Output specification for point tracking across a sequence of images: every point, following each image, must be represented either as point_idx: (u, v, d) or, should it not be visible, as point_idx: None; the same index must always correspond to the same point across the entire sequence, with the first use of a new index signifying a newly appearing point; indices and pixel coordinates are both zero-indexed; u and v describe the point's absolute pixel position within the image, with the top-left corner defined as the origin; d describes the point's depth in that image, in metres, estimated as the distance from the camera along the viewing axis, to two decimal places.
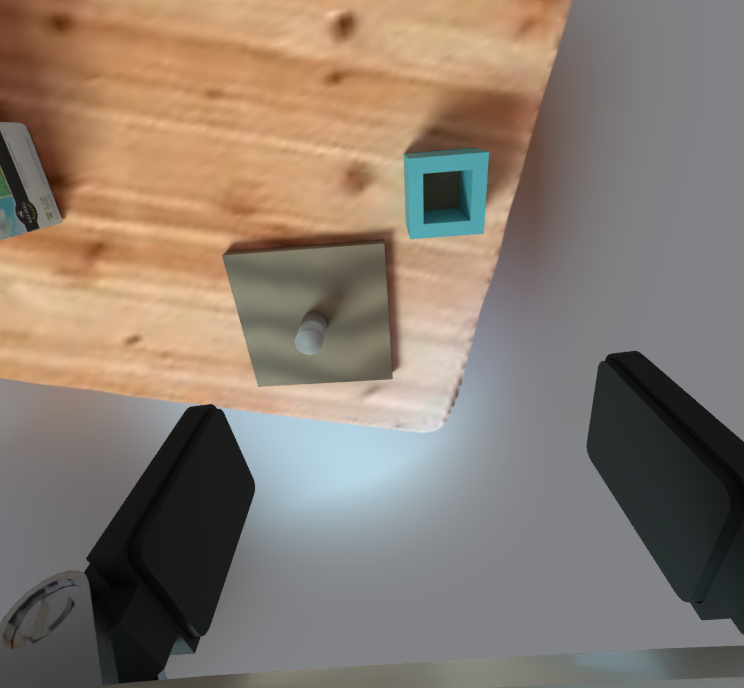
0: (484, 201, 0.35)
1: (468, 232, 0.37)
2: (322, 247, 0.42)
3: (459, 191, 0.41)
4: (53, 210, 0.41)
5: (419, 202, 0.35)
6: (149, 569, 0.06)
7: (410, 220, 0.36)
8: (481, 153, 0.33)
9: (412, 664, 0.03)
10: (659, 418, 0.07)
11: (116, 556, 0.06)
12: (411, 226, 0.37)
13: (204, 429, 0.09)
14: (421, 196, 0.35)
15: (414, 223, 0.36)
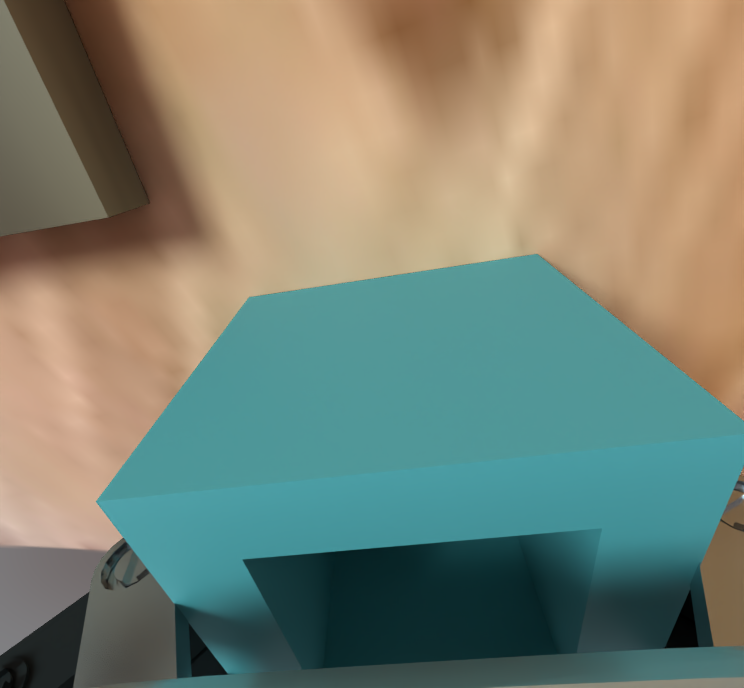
0: None
1: None
2: None
3: None
4: None
5: (389, 527, 0.05)
6: None
7: (244, 487, 0.04)
8: None
9: (412, 664, 0.03)
10: None
11: None
12: (198, 501, 0.04)
13: None
14: (437, 531, 0.05)
15: (228, 515, 0.04)
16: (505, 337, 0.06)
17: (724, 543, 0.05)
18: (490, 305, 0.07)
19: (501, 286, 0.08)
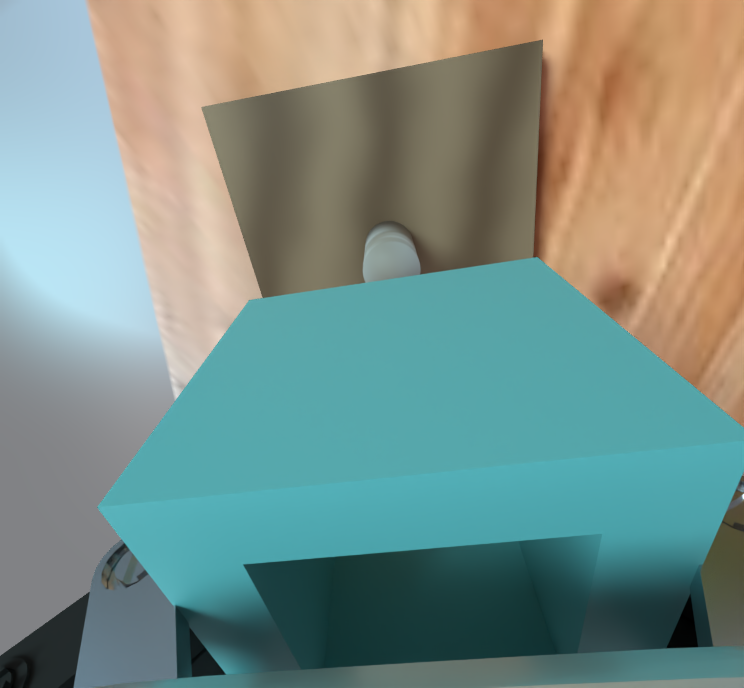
0: None
1: None
2: None
3: None
4: None
5: (390, 532, 0.05)
6: None
7: (245, 493, 0.04)
8: None
9: (413, 665, 0.03)
10: None
11: None
12: (199, 507, 0.04)
13: None
14: (438, 536, 0.05)
15: (230, 520, 0.04)
16: (505, 341, 0.06)
17: (724, 543, 0.05)
18: (490, 309, 0.07)
19: (501, 289, 0.08)
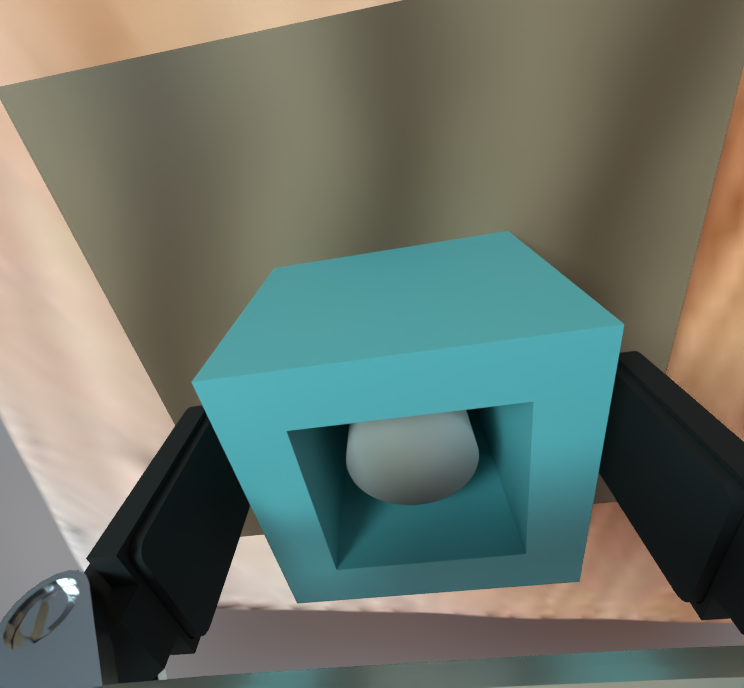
0: (410, 592, 0.10)
1: (290, 568, 0.09)
2: None
3: None
4: None
5: (389, 401, 0.07)
6: (149, 569, 0.06)
7: (291, 371, 0.06)
8: (578, 564, 0.09)
9: (411, 664, 0.03)
10: (659, 418, 0.07)
11: (116, 556, 0.06)
12: (260, 381, 0.06)
13: (204, 429, 0.09)
14: (422, 406, 0.07)
15: (280, 392, 0.07)
16: (474, 284, 0.08)
17: None
18: (466, 265, 0.09)
19: (476, 253, 0.10)
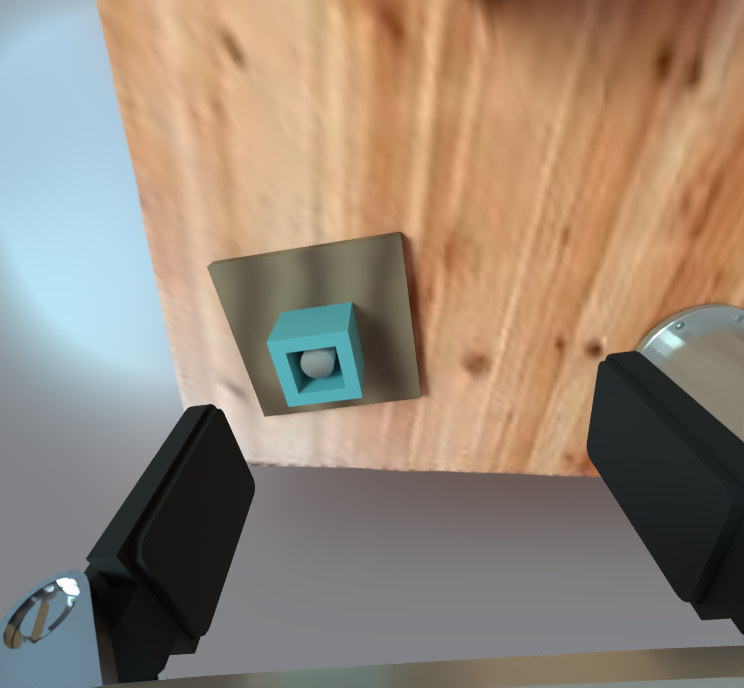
0: (318, 402, 0.36)
1: (286, 394, 0.35)
2: None
3: None
4: None
5: (306, 346, 0.33)
6: (149, 569, 0.06)
7: (286, 339, 0.33)
8: (360, 391, 0.35)
9: (411, 664, 0.03)
10: (659, 418, 0.07)
11: (116, 556, 0.06)
12: (280, 341, 0.33)
13: (204, 429, 0.09)
14: (313, 347, 0.33)
15: (284, 344, 0.33)
16: (330, 320, 0.34)
17: None
18: (332, 314, 0.35)
19: (337, 310, 0.36)
